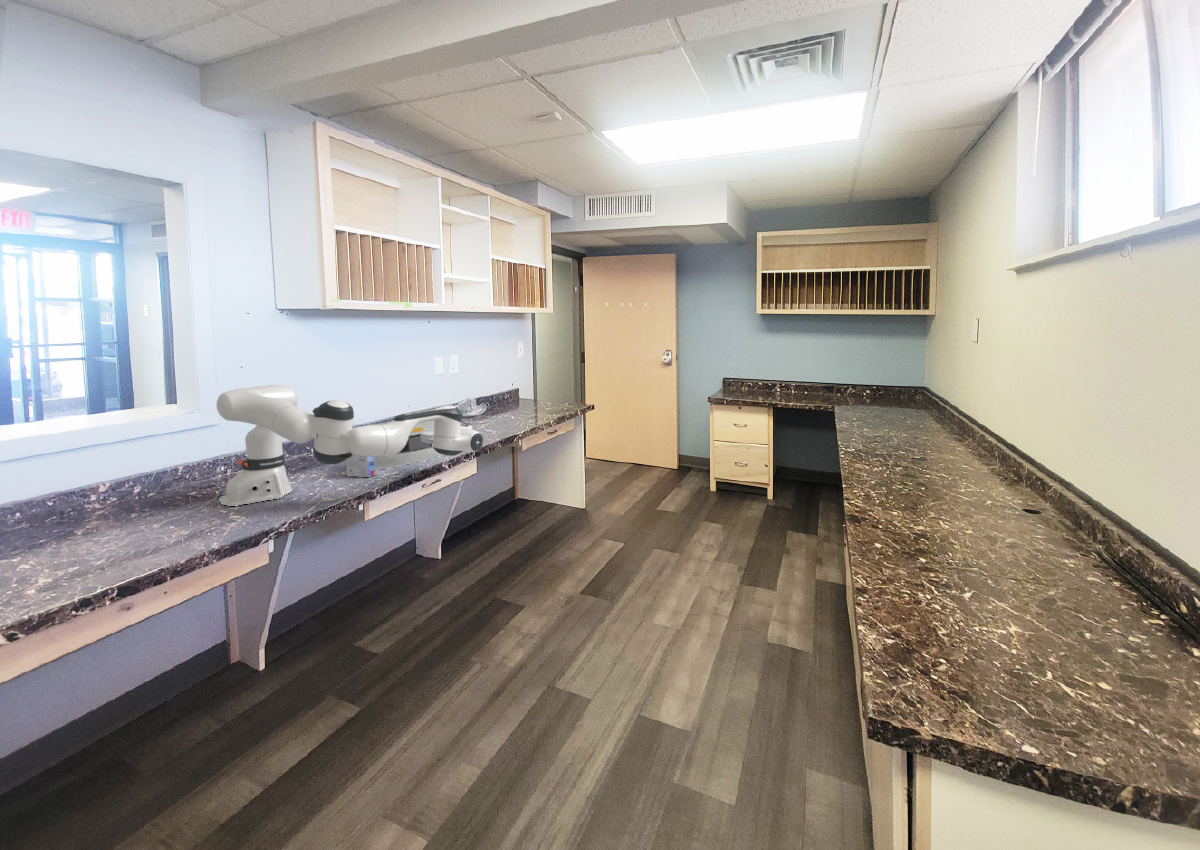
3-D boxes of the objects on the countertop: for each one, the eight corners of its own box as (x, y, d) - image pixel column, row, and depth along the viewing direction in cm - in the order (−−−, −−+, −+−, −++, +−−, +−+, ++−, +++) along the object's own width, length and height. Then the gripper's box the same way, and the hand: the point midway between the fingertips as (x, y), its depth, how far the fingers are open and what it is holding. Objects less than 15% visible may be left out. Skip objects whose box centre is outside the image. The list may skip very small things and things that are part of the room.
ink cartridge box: (377, 474, 230) (374, 439, 227) (369, 478, 225) (365, 442, 222) (355, 473, 232) (351, 438, 229) (346, 477, 227) (343, 441, 224)
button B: (409, 450, 242) (408, 439, 241) (403, 449, 245) (402, 437, 244) (430, 446, 249) (429, 435, 248) (424, 445, 252) (423, 434, 251)
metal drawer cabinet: (372, 472, 233) (368, 429, 229) (362, 468, 239) (358, 426, 235) (437, 458, 254) (434, 419, 251) (426, 455, 261) (423, 416, 257)
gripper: (431, 448, 219) (413, 443, 229) (475, 439, 234) (456, 435, 243) (430, 432, 218) (412, 428, 227) (475, 424, 233) (456, 420, 242)
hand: (435, 431), depth 235 cm, fingers closed
